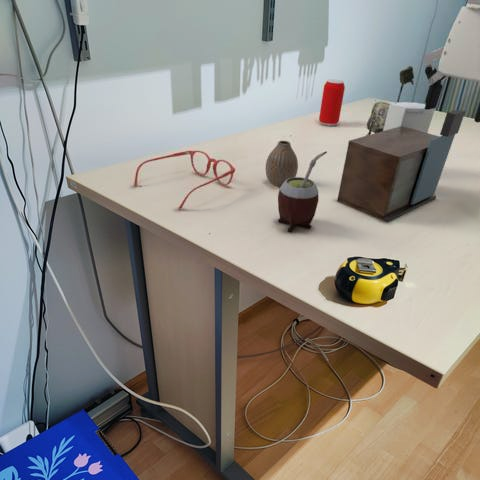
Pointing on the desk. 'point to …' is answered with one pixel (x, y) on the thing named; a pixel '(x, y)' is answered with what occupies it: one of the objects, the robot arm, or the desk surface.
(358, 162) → the cabinet
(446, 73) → the robot arm
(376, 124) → the camouflage trail camera
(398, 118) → the cosmetic box
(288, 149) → the vase
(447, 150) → the sliding door
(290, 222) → the mate gourd
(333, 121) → the beverage can
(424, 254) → the desk surface
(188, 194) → the red eyeglasses
